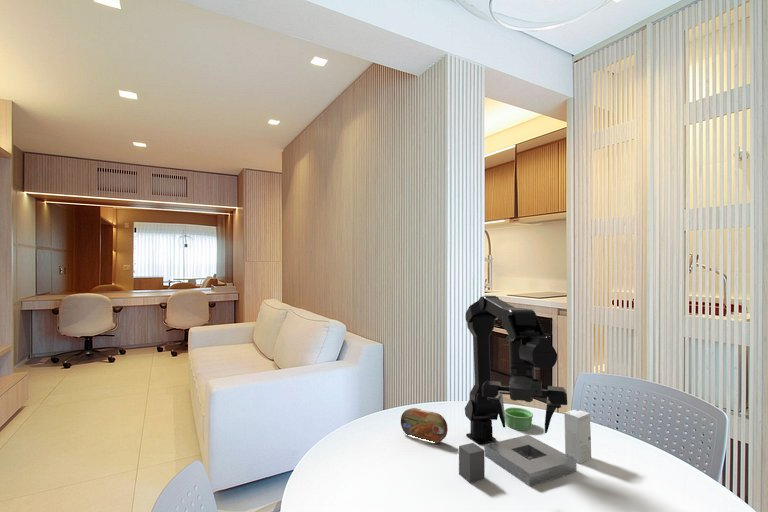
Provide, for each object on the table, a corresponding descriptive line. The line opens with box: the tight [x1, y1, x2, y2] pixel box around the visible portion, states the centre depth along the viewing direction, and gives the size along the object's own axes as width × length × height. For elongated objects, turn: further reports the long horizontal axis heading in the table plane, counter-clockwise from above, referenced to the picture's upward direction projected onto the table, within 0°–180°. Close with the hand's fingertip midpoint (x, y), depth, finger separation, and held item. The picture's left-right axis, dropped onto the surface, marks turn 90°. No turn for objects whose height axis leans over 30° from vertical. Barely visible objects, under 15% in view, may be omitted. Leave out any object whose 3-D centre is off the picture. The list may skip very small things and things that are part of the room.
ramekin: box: [504, 406, 534, 431], centre depth 124 cm, size 9×9×4 cm
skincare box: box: [564, 408, 592, 464], centre depth 102 cm, size 6×4×12 cm
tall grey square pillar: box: [458, 442, 486, 484], centre depth 92 cm, size 4×4×7 cm
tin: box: [400, 407, 449, 444], centre depth 113 cm, size 15×3×8 cm, turn 56°
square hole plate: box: [484, 434, 578, 487], centre depth 99 cm, size 16×16×3 cm
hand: (524, 429), depth 88 cm, fingers open, 9 cm apart
